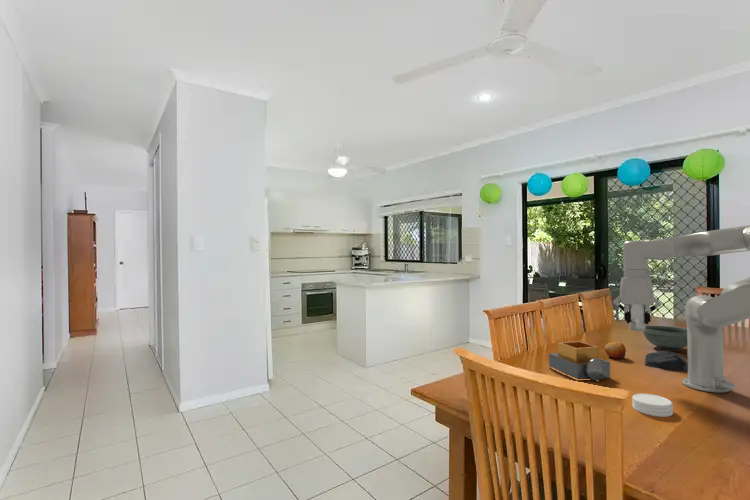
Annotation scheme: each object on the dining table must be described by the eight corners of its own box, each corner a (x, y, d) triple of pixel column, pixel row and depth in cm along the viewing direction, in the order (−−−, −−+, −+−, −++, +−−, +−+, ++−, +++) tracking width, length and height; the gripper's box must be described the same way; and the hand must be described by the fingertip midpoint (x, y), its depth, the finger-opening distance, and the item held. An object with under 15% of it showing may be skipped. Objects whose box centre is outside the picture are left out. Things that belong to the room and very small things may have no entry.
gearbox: (614, 379, 143) (614, 349, 143) (581, 383, 140) (581, 352, 140) (578, 365, 161) (578, 339, 161) (549, 368, 158) (548, 341, 158)
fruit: (634, 356, 168) (624, 340, 168) (618, 366, 168) (609, 350, 168) (623, 351, 176) (613, 336, 176) (608, 360, 176) (598, 345, 176)
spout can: (649, 330, 141) (648, 296, 141) (637, 331, 140) (636, 297, 140) (637, 327, 146) (636, 294, 146) (625, 328, 145) (624, 295, 145)
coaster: (634, 401, 123) (634, 390, 123) (673, 409, 117) (673, 397, 117) (630, 412, 116) (630, 400, 116) (672, 421, 109) (672, 408, 109)
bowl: (651, 353, 177) (651, 331, 177) (635, 342, 197) (635, 323, 197) (706, 356, 171) (705, 333, 171) (683, 345, 191) (683, 324, 191)
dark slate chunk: (687, 360, 167) (687, 349, 167) (692, 374, 149) (692, 362, 149) (644, 355, 176) (644, 344, 176) (644, 368, 158) (644, 356, 158)
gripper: (662, 273, 142) (663, 323, 142) (608, 273, 150) (609, 320, 150) (666, 274, 136) (667, 326, 135) (609, 274, 144) (610, 323, 144)
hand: (637, 322), depth 143 cm, fingers closed on spout can, 5 cm apart
